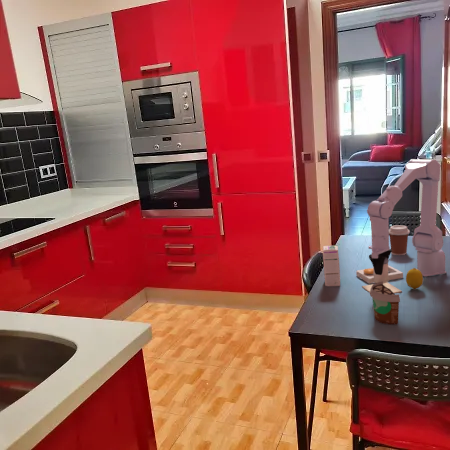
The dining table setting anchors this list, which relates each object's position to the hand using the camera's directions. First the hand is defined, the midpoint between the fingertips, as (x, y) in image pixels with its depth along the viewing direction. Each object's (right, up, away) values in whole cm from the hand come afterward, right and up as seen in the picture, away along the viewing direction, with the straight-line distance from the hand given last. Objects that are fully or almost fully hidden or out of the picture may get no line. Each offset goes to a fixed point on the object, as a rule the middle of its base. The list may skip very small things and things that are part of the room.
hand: (380, 271), depth 160 cm
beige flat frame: (+4, -3, +14) cm, 15 cm away
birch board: (+1, -7, +2) cm, 7 cm away
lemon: (+11, -6, -1) cm, 13 cm away
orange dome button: (0, -4, +13) cm, 14 cm away
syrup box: (-14, -6, +12) cm, 20 cm away
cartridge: (0, -3, +1) cm, 4 cm away
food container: (-7, -13, -21) cm, 25 cm away
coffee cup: (+22, +4, +39) cm, 45 cm away
